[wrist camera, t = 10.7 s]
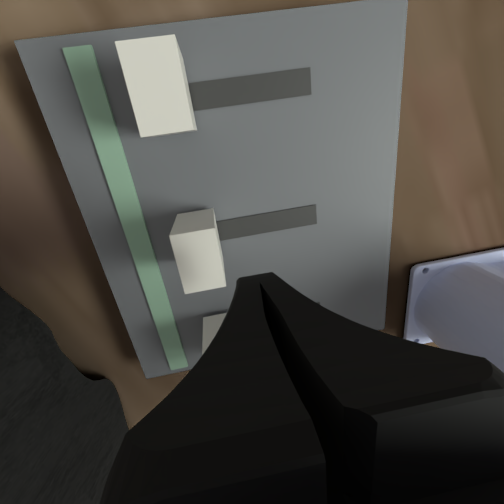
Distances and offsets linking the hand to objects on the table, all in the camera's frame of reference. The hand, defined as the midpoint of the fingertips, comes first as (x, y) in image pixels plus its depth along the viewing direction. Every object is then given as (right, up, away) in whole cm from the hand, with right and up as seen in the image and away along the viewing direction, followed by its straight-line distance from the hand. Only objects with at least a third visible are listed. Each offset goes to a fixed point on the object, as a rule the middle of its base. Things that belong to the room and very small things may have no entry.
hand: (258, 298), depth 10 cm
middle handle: (-3, +3, +6) cm, 7 cm away
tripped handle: (-4, +9, +3) cm, 10 cm away
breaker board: (-1, +4, +8) cm, 9 cm away
